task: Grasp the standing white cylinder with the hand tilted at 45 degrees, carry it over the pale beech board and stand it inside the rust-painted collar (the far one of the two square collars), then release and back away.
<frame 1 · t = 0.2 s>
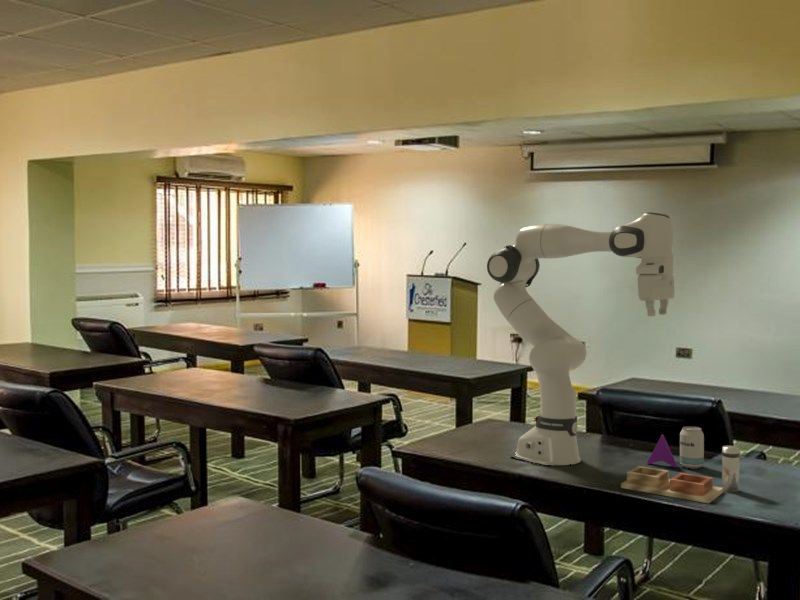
hand: (657, 315, 232), 48 cm above the table, tool pointing down, fingers open, 8 cm apart
white cylinder: (730, 490, 219), on the table
arrowhead: (661, 466, 246), on the table
beverage can: (691, 467, 244), on the table
collar board: (671, 489, 220), on the table
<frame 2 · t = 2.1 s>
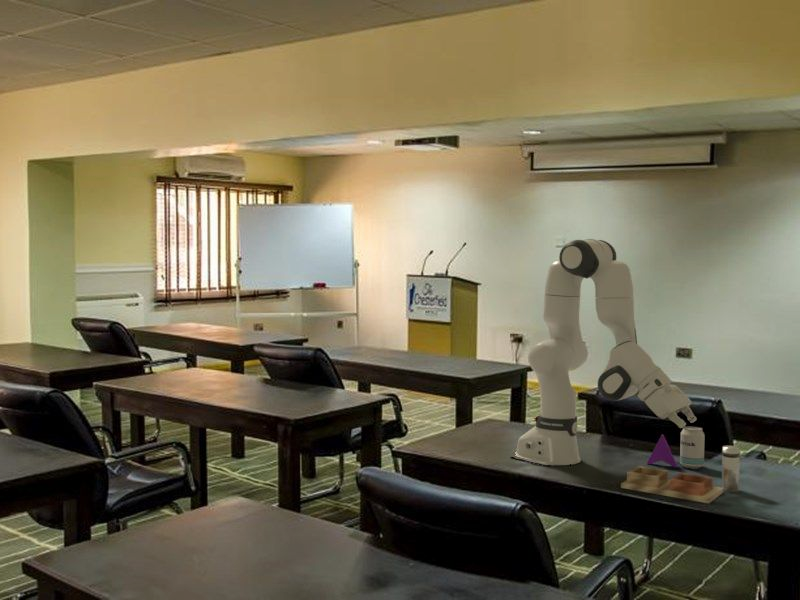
hand: (689, 423, 226), 17 cm above the table, tool tilted 45°, fingers open, 8 cm apart
nothing on the table moved.
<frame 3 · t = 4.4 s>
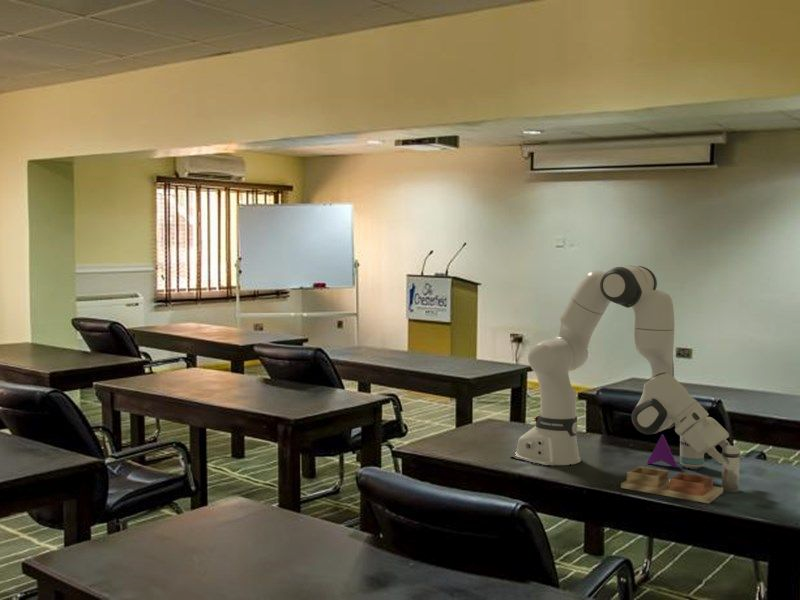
hand: (728, 458, 219), 9 cm above the table, tool tilted 45°, fingers open, 8 cm apart
nothing on the table moved.
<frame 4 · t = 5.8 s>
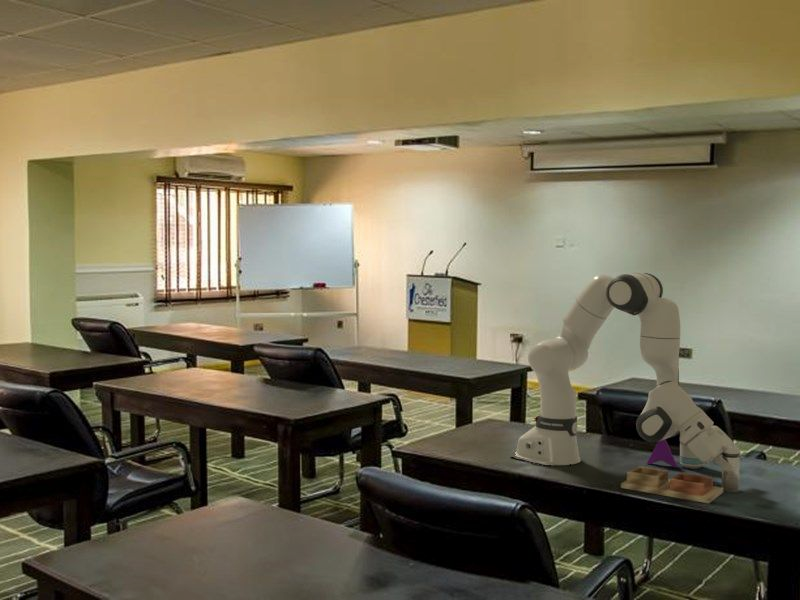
hand: (733, 467, 219), 6 cm above the table, tool tilted 45°, fingers closed on white cylinder, 4 cm apart
white cylinder: (730, 490, 219), on the table, touching gripper
everything else where it was.
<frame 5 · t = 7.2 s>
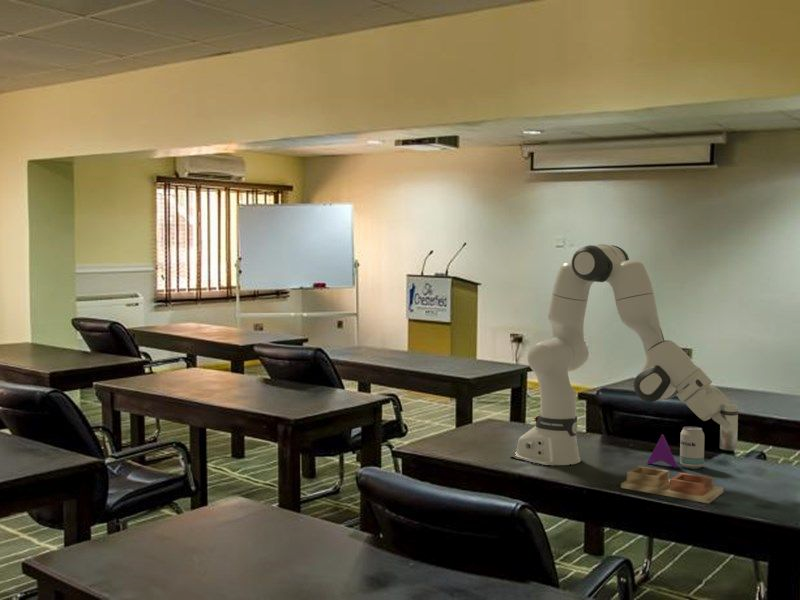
hand: (731, 425, 218), 18 cm above the table, tool tilted 45°, fingers closed on white cylinder, 4 cm apart
white cylinder: (728, 448, 219), point 12 cm above the table, touching gripper
everything else where it was.
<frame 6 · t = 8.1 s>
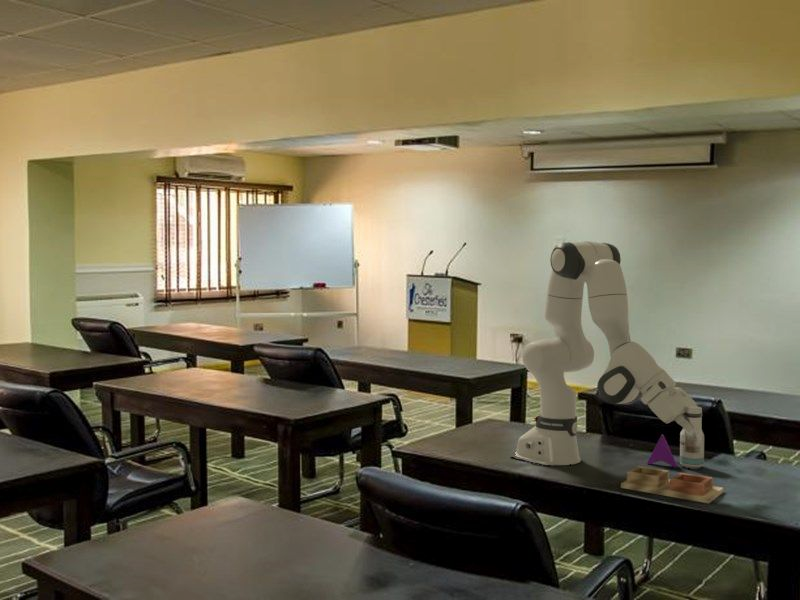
hand: (694, 428, 215), 18 cm above the table, tool tilted 45°, fingers closed on white cylinder, 4 cm apart
white cylinder: (692, 451, 216), point 12 cm above the table, touching gripper
everything else where it was.
when the fingers open (9 cm above the table, at t = 10.0 s): white cylinder drops 1 cm, resting on collar board.
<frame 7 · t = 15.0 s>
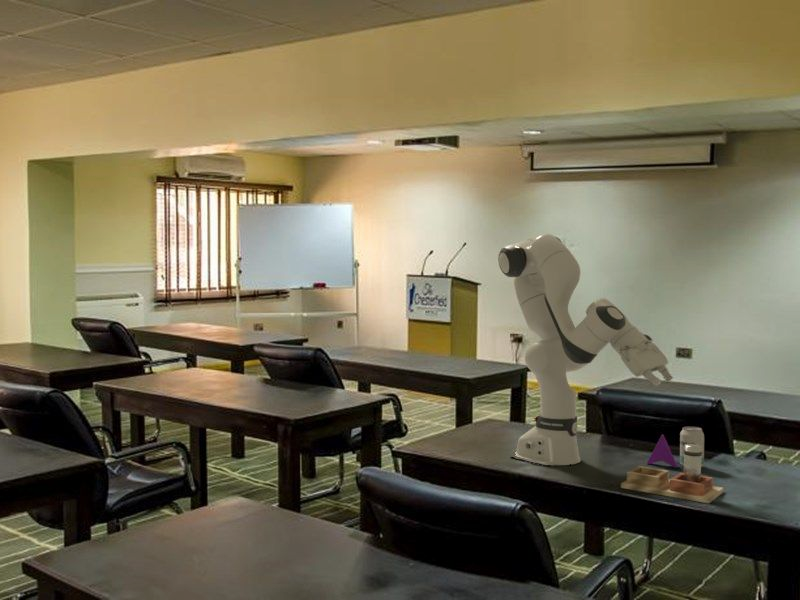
hand: (664, 382, 223), 29 cm above the table, tool tilted 45°, fingers open, 8 cm apart
white cylinder: (691, 489, 216), point 1 cm above the table, touching collar board
everything else where it was.
at the end: white cylinder 0.1 cm from the target spot on the collar board, point 1.3 cm above the collar board's base; white cylinder tilted 2°; the gripper is holding nothing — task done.
